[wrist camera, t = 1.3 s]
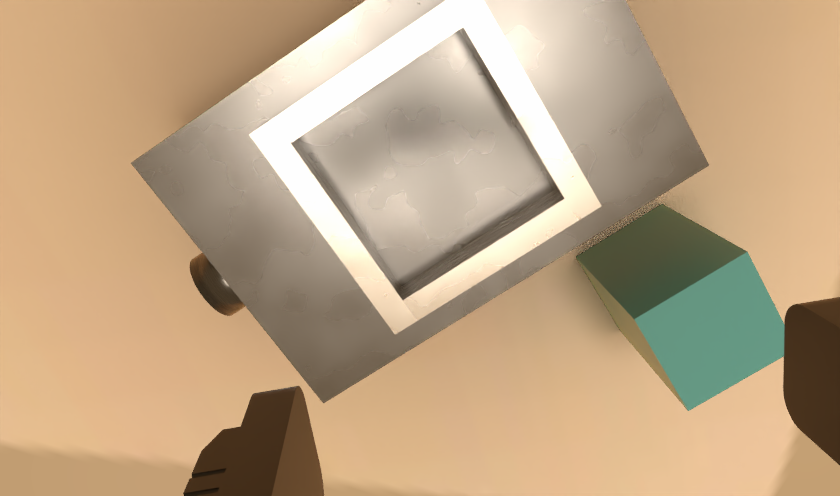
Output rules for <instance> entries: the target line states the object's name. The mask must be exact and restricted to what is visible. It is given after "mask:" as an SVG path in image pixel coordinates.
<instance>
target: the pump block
mask: <svg viewBox="0 0 840 496" xmlns="http://www.w3.org/2000/svg"><path fill="white" fill-rule="evenodd" d="M576 258H577V260H578V262H579V263H580V265H581V267H582V268H583V270H584V272H585V273H586V275H587V276H588V278H589V280H590V281H591V283H592V285H593V286H594V288H595V290H596V291H597V293H598V295H599V296H600V298H601V300H602V301H603V303H604V305H605V306H606V308H607V310H608V311H609V313H610V315H611V316H612V318H613V320H614V321H615V323H616V325H617V326H618V328H619V330H620V331H621V332H622V334H623V335H624V336H625V337H626V338H627V339H628V341H629V342H630V343H631V344H632V345H633V347H634V348H635V349H636V350H637V351H638V352H639V354H640V355H641V356H642V357H643V358H644V359H645V361H646V362H647V363H648V364H649V365H650V367H651V368H652V369H653V370H654V371H655V372H656V374H657V375H658V376H659V377H660V378H661V379H662V381H663V382H664V383H665V384H666V385H667V387H668V388H669V389H670V390H671V391H672V392H673V394H674V395H675V396H676V397H677V398H678V400H679V401H680V402H681V403H682V404H683V405H684V407H685V408H686V409H687V410H688V411H689V410H691V409H693V408H694V407H696V406H698V405H700V404H701V403H703V402H705V401H707V400H708V399H710V398H712V397H714V396H715V395H717V394H719V393H721V392H722V391H724V390H726V389H728V388H729V387H731V386H733V385H734V384H736V383H738V382H740V381H741V380H743V379H745V378H747V377H748V376H750V375H752V374H754V373H755V372H757V371H759V370H761V369H762V368H764V367H766V366H768V365H769V364H771V363H773V362H775V361H776V360H778V359H780V358H782V357H783V356H784V326H785V325H784V323H783V321H782V319H781V317H780V315H779V313H778V311H777V309H776V307H775V305H774V303H773V301H772V299H771V297H770V295H769V293H768V291H767V289H766V287H765V286H764V284H763V282H762V280H761V278H760V276H759V274H758V272H757V270H756V268H755V266H754V264H753V262H752V260H751V258H750V256H749V254H748V252H747V251H745V250H743V249H742V248H740V247H738V246H736V245H734V244H733V243H731V242H729V241H727V240H725V239H724V238H722V237H720V236H718V235H717V234H715V233H713V232H711V231H709V230H708V229H706V228H704V227H702V226H701V225H699V224H697V223H695V222H693V221H692V220H690V219H688V218H686V217H684V216H683V215H681V214H679V213H677V212H676V211H674V210H672V209H670V208H668V207H667V206H665V205H663V204H661V205H659V206H658V207H656V208H654V209H653V210H651V211H650V212H648V213H646V214H645V215H643V216H641V217H640V218H638V219H637V220H635V221H633V222H632V223H630V224H628V225H627V226H625V227H624V228H622V229H620V230H619V231H617V232H615V233H614V234H612V235H611V236H609V237H607V238H606V239H604V240H602V241H601V242H599V243H598V244H596V245H594V246H593V247H591V248H589V249H588V250H586V251H585V252H583V253H581V254H580V255H578V256H576Z"/></svg>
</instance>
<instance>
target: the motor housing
mask: <svg viewBox="0 0 840 496" xmlns="http://www.w3.org/2000/svg"><path fill="white" fill-rule="evenodd" d="M131 164H132V165H133V166H134V168H135V169H136V170H137V171H138V173H139V174H140V175H141V176H142V178H143V179H144V180H145V181H146V183H147V184H148V185H149V186H150V188H151V189H152V190H153V191H154V193H155V194H156V195H157V196H158V198H159V199H160V200H161V201H162V203H163V204H164V205H165V206H166V208H167V209H168V210H169V211H170V213H171V214H172V215H173V216H174V217H175V219H176V220H177V221H178V222H179V224H180V225H181V226H182V227H183V229H184V230H185V231H186V232H187V234H188V235H189V236H190V237H191V239H192V240H193V241H194V242H195V244H196V245H197V246H198V247H199V249H200V250H201V251H202V252H203V253H201V254H199V255H198V256H196V257H195V258H193V259H192V260H191V262H190V272H191V275H192V278H193V281H194V283H195V285H196V287H197V288H198V290H199V292H200V293H201V295H202V296H203V297H204V299H205V300H206V301H207V302H208V303H209V304H210V305H211V306H212V307H213V308H214V309H215V310H217V311H218V312H220V313H221V314H224V315H227V316H231V315H233V314H234V313H236V312H237V311H239V310H240V309H242V308H244V307H245V306H246V307H247V309H248V310H249V311H250V312H251V314H252V315H253V316H254V317H255V319H256V320H257V321H258V322H259V324H260V325H261V326H262V327H263V329H264V330H265V331H266V332H267V334H268V335H269V336H270V337H271V339H272V340H273V341H274V342H275V344H276V345H277V346H278V347H279V349H280V350H281V351H282V352H283V354H284V355H285V356H286V357H287V358H288V360H289V361H290V362H291V363H292V365H293V366H294V367H295V368H296V370H297V371H298V372H299V373H300V375H301V376H302V377H303V378H304V380H305V381H306V382H307V383H308V385H309V386H310V387H311V388H312V390H313V391H314V392H315V393H316V395H317V396H318V397H319V398H320V400H321V401H322V402H323V403H325V402H326V401H328V400H330V399H331V398H333V397H334V396H336V395H338V394H339V393H341V392H343V391H344V390H346V389H347V388H349V387H351V386H352V385H354V384H356V383H357V382H359V381H360V380H362V379H364V378H365V377H367V376H368V375H370V374H372V373H373V372H375V371H377V370H378V369H380V368H381V367H383V366H385V365H386V364H388V363H390V362H391V361H393V360H394V359H396V358H398V357H399V356H401V355H402V354H404V353H406V352H407V351H409V350H411V349H412V348H414V347H415V346H417V345H419V344H420V343H422V342H424V341H425V340H427V339H428V338H430V337H432V336H433V335H435V334H437V333H438V332H440V331H441V330H443V329H445V328H446V327H448V326H449V325H451V324H453V323H454V322H456V321H458V320H459V319H461V318H462V317H464V316H466V315H467V314H469V313H471V312H472V311H474V310H475V309H477V308H479V307H480V306H482V305H483V304H485V303H487V302H488V301H490V300H492V299H493V298H495V297H496V296H498V295H500V294H501V293H503V292H505V291H506V290H508V289H509V288H511V287H513V286H514V285H516V284H518V283H519V282H521V281H522V280H524V279H526V278H527V277H529V276H530V275H532V274H534V273H535V272H537V271H539V270H540V269H542V268H543V267H545V266H547V265H548V264H550V263H552V262H553V261H555V260H556V259H558V258H560V257H561V256H563V255H565V254H566V253H568V252H569V251H571V250H573V249H574V248H576V247H577V246H579V245H581V244H582V243H584V242H586V241H587V240H589V239H590V238H592V237H594V236H595V235H597V234H599V233H600V232H602V231H603V230H605V229H607V228H608V227H610V226H611V225H613V224H615V223H616V222H618V221H620V220H621V219H623V218H624V217H626V216H628V215H629V214H631V213H633V212H634V211H636V210H637V209H639V208H641V207H642V206H644V205H646V204H647V203H649V202H650V201H652V200H654V199H655V198H657V197H658V196H660V195H662V194H663V193H665V192H667V191H668V190H670V189H671V188H673V187H675V186H676V185H678V184H680V183H681V182H683V181H684V180H686V179H688V178H689V177H691V176H692V175H694V174H696V173H697V172H699V171H701V170H702V169H704V168H705V167H707V166H709V164H708V162H707V160H706V158H705V156H704V154H703V152H702V150H701V148H700V146H699V145H698V143H697V141H696V139H695V137H694V135H693V133H692V131H691V129H690V127H689V125H688V123H687V121H686V119H685V117H684V115H683V113H682V111H681V109H680V107H679V105H678V103H677V101H676V99H675V97H674V95H673V93H672V91H671V89H670V87H669V85H668V83H667V81H666V79H665V77H664V75H663V73H662V71H661V69H660V67H659V65H658V63H657V61H656V59H655V57H654V55H653V54H652V52H651V50H650V48H649V46H648V44H647V42H646V40H645V38H644V36H643V34H642V32H641V30H640V28H639V26H638V24H637V22H636V20H635V18H634V16H633V14H632V12H631V10H630V8H629V6H628V4H627V2H626V0H365V1H364V2H363V3H361V4H360V5H358V6H357V7H355V8H354V9H352V10H351V11H350V12H348V13H347V14H345V15H344V16H342V17H341V18H339V19H338V20H337V21H335V22H334V23H332V24H331V25H329V26H328V27H326V28H325V29H324V30H322V31H321V32H319V33H318V34H316V35H315V36H313V37H312V38H311V39H309V40H308V41H306V42H305V43H303V44H302V45H301V46H299V47H298V48H296V49H295V50H293V51H292V52H290V53H289V54H288V55H286V56H285V57H283V58H282V59H280V60H279V61H277V62H276V63H275V64H273V65H272V66H270V67H269V68H267V69H266V70H264V71H263V72H262V73H260V74H259V75H257V76H256V77H254V78H253V79H251V80H250V81H249V82H247V83H246V84H244V85H243V86H241V87H240V88H238V89H237V90H236V91H234V92H233V93H231V94H230V95H228V96H227V97H225V98H224V99H223V100H221V101H220V102H218V103H217V104H215V105H214V106H213V107H211V108H210V109H208V110H207V111H205V112H204V113H202V114H201V115H200V116H198V117H197V118H195V119H194V120H192V121H191V122H189V123H188V124H187V125H185V126H184V127H182V128H181V129H179V130H178V131H176V132H175V133H174V134H172V135H171V136H169V137H168V138H166V139H165V140H163V141H162V142H161V143H159V144H158V145H156V146H155V147H153V148H152V149H150V150H149V151H148V152H146V153H145V154H143V155H142V156H140V157H139V158H137V159H136V160H135V161H133V162H132V163H131Z"/></svg>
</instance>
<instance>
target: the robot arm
mask: <svg viewBox="0 0 840 496" xmlns="http://www.w3.org/2000/svg"><path fill="white" fill-rule="evenodd" d="M783 391H784V399H785V403H786V407H787V409H788V412H789V414H790V416H791V418H792V420H793V421H794V423H795V424H796V426H797V427H798V428H799V429H800V430H801V431H802V432H803V433H804V434H806V435H807V436H808V437H809V438H810V439H811V440H812V441H813V442H814V443H816V444H817V445H818V446H819V447H820V448H821V449H822V450H823V451H824V452H825V453H827V454H828V455H829V456H830V457H831V458H832V459H833V460H834V461H836V462H837V463H838V464H839V465H840V297H837V298H831V299H825V300H819V301H813V302H807V303H801V304H795V305H792V306H791V307H790V308H789V309H788V311H787V313H786V316H785V326H784V384H783ZM183 494H184V496H324V490H323V480H322V473H321V468H320V463H319V459H318V454H317V450H316V446H315V441H314V437H313V432H312V428H311V424H310V419H309V415H308V410H307V406H306V402H305V398H304V394H303V392H302V389H301V388H300V387H299V386H296V387H290V388H284V389H278V390H272V391H266V392H260V393H254V394H253V395H252V397H251V399H250V402H249V405H248V408H247V411H246V413H245V416H244V419H243V422H242V425H241V427H236V428H230V429H224V430H222V431H221V432H220V433H219V434H218V435H217V436H216V437H215V438H214V439H213V440H212V441H211V442H210V443H209V444H208V445H207V446H206V447H205V448H204V449H203V450H202V451H201V454H200V456H199V458H198V461H197V463H196V465H195V468H194V470H193V472H192V478H191V479H189V482H188V484H187V486H186V489H185V491H184V493H183Z"/></svg>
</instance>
